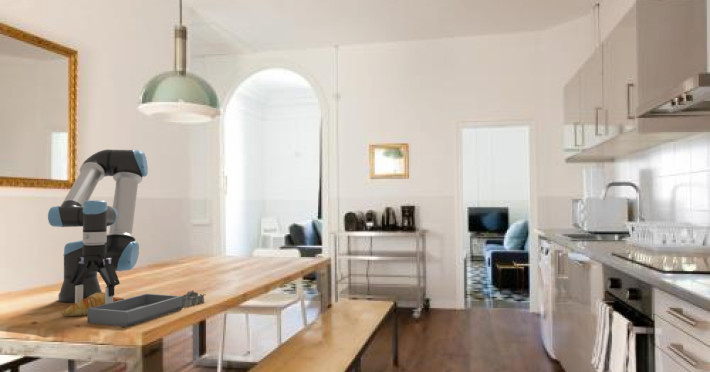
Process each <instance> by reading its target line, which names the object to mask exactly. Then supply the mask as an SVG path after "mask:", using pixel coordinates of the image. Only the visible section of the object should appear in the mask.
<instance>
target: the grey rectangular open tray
mask: <svg viewBox="0 0 710 372" xmlns="http://www.w3.org/2000/svg"><path fill="white" fill-rule="evenodd" d="M182 296H183V295H175V294H174V295H172V294H156V293H144V294H140V295H136V296H131V297H129V298H127V297H126V298H123V300H119V301H116V302H112V303H108V304H104V305H100V306H96V307H92V308H88V315H87V324H95V325H107V326H117V327H131V326H134V325H137V324H139V323H144V322H146V321H149V320H151V319H152V320H153V319H155V318H158V317H161V316H165V315H167V314H170V313H173V312H177V311H180V310H182V309H183V305H182Z"/></svg>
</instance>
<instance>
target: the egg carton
mask: <svg viewBox="0 0 710 372" xmlns="http://www.w3.org/2000/svg"><path fill="white" fill-rule="evenodd" d="M181 296H182V307H191V306H192V305H198V304H199V303H204V302H205V296H207V295H206V293H205V294H204V293H200V295H199V293H198V292H196V291H194V290H190V291H188V292H186V294H182V295H181Z"/></svg>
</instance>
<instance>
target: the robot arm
mask: <svg viewBox="0 0 710 372" xmlns="http://www.w3.org/2000/svg"><path fill="white" fill-rule="evenodd" d="M148 172H149V169H148V161H147V157H146V154H145V152H144V151H143V150H139V149H104V150H99V151H97V152H95V153H93V154H92V155H90V156H89V157H88V158H87V159H85V160H84V162H83V163H81V165H80V169H79V175H78V176H77V177H76V179H75V182H73V185H72V186H71V187H70V190H69V191H68V192H67V195H66V196H65V198H64V200H63V201H62V203H61V205H56V206H52V207H51V206H50V208H49V209H48V213H47V219H48V224H49V225H50V226H51V227H57V228H59V227H60V228H69V227H70V228H73V227H82V240H78V241H70V242H67V243H66V244H65V245H64V247H63V251H64V252H63V255H62V256H63V281H62V284H61V288H60V291H59V293H58V298H57V299H58V302H62V303H74V304H76V303H78V302H79V301H80V300H82V299H86V298H87V297H89V296H91V295H93V294H95V293H103V291H102V289H101V286H100V283H99V280H98V273H99V276H100V277H101V278H102V280H103V281H104V283H105V285H106V286H105V288H104V290H105V292H104V293H105V304H108V303H112V302H113V297H115V287H116V286H118V285H120V283H121V282H120V280H119V277H118V274H117V272H124V271H131V270H132V269H134V268H135V266H136V264H137V262H138V258H139V253H140V250H139V249H140V244H139V243H138V242H137V241H136V238H135V237H134V235H133V229H134V227H133V226H134V220H135V219H134V218H135V211H136V204H137V203H136V202H137V195H138V193H137V192H138V187H139V186H138V185H139V184H140V183H142V181H143V177H144V178H145V177H147V176H148ZM105 177H112V179H113V180H114V181H115V188H114V196H113V200H112V201H113V203H112V206H110V205H108V202H107V200H90V198H91V197H92V194H93V192H94V191H95V189H96V187H97V185H98V184H99V182H100V181H102V180H103V179H104V178H105ZM108 227H109V231H108V229H107V228H108ZM107 231H108V232H107Z"/></svg>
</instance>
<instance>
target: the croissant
mask: <svg viewBox="0 0 710 372" xmlns="http://www.w3.org/2000/svg"><path fill="white" fill-rule="evenodd" d="M123 299H124V298H123V297H118V296H117V297H116V296H113V302H116V301H119V300H123ZM104 304H105V292H102V293H95V294H93V295H91V296H89V297H87V298H86V299H82V300H80V301H79V302H78V303H76V304H75V303H73V304H71V305H70V306H69V307H68V308H65V309H63V310H62V312H61V313H62V315H63V316H65V317H77V316H82V317H83V316H88V308H92V307H96V306H100V305H104Z"/></svg>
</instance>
